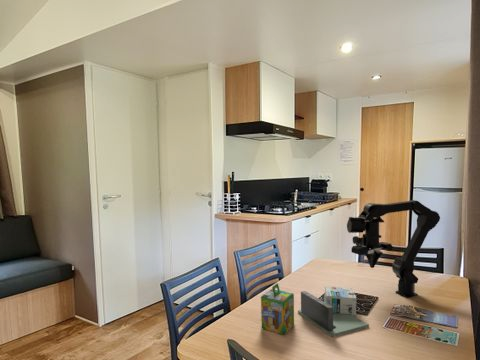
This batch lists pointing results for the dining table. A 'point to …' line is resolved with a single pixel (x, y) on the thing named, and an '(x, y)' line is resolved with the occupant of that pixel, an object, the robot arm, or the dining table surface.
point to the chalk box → (277, 310)
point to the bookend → (317, 310)
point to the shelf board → (342, 324)
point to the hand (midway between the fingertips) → (372, 267)
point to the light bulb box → (341, 299)
